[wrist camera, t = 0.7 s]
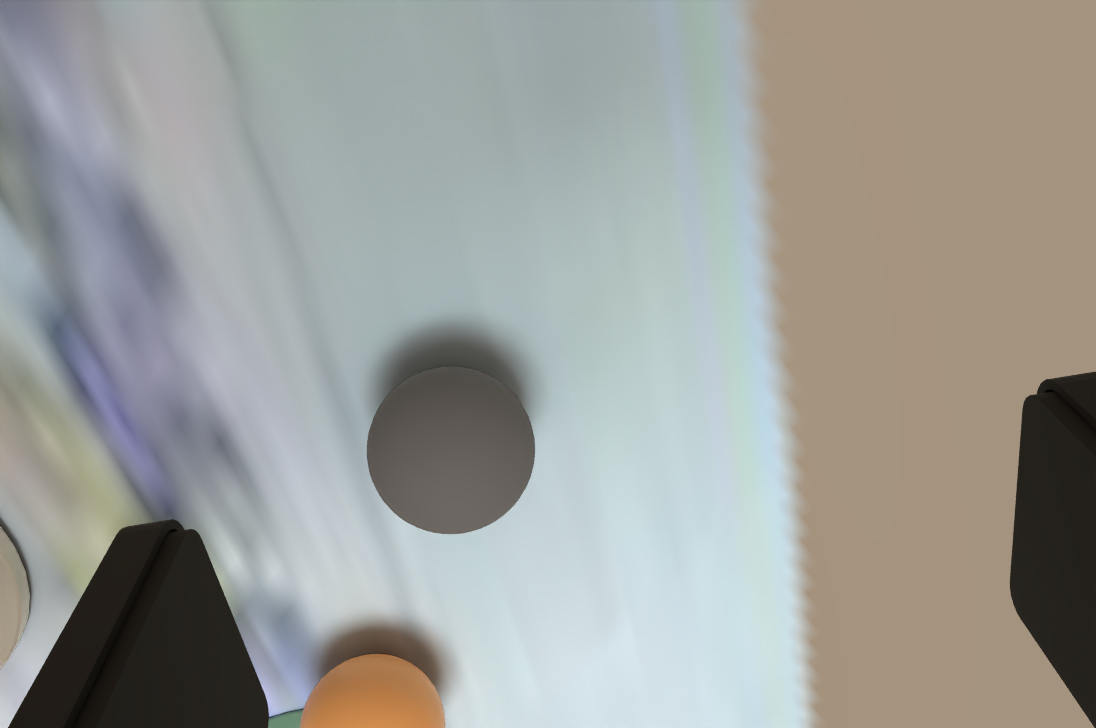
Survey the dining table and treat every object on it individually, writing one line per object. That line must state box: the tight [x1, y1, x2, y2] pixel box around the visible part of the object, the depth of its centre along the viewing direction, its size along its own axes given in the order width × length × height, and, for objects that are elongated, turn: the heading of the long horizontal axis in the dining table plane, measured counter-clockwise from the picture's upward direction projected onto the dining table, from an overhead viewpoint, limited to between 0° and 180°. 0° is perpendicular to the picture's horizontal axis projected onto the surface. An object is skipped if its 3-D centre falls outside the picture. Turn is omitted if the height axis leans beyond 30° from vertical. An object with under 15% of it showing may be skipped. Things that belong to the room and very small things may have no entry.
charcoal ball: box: [367, 366, 535, 534], centre depth 35 cm, size 6×6×6 cm
